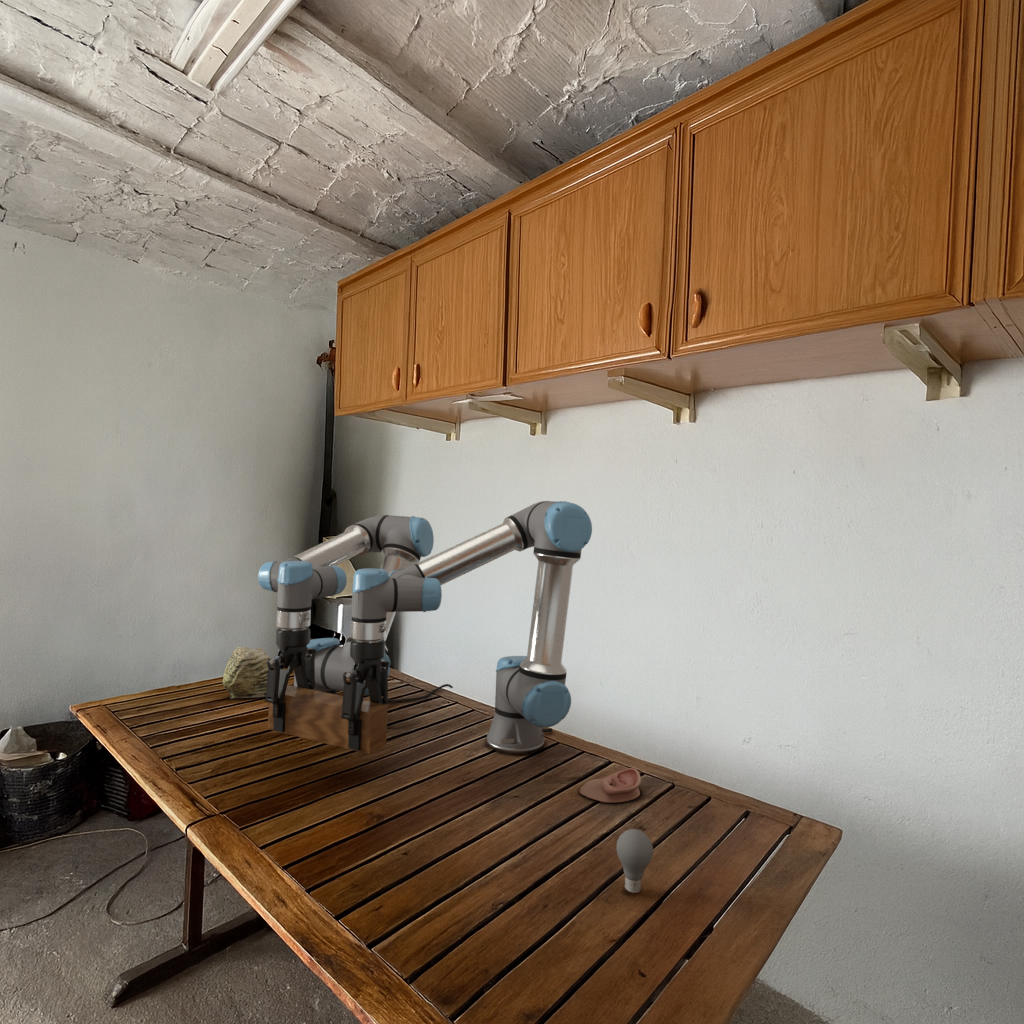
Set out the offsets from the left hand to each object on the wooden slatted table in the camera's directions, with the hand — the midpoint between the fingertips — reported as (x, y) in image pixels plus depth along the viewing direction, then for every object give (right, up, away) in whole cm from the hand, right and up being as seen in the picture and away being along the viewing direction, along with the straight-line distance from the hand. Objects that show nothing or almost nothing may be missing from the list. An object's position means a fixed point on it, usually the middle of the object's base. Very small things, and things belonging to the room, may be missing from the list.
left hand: (289, 725), depth 148 cm
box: (+10, -1, -4) cm, 11 cm away
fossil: (-29, -7, +50) cm, 58 cm away
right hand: (+19, -1, -9) cm, 21 cm away
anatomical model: (+74, -13, -6) cm, 75 cm away
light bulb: (+72, -13, -42) cm, 85 cm away
